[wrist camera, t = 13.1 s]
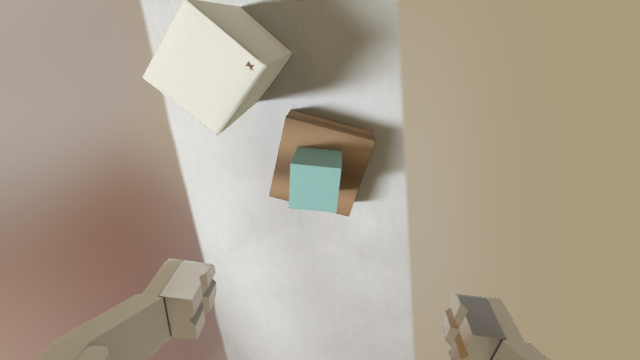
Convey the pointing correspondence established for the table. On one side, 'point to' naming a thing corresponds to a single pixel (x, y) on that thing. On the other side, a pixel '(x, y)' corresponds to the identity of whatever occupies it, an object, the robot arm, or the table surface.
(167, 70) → the supplement box
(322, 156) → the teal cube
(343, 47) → the table surface
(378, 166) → the table surface
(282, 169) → the walnut block
